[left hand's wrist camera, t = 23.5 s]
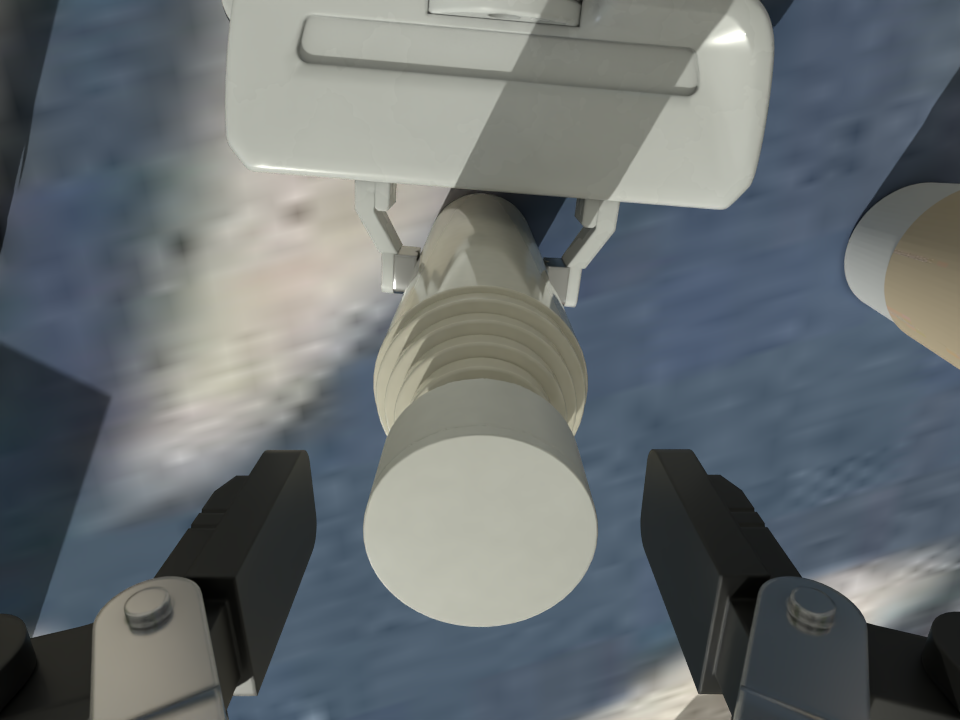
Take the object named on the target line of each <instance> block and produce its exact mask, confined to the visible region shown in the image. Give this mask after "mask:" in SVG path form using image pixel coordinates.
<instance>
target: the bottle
mask: <svg viewBox="0 0 960 720" xmlns="http://www.w3.org/2000/svg"><path fill="white" fill-rule="evenodd" d="M480 378H484V379H485V378H487V379H493V380H500V381H505V382H509V383H514V384H517V385H520V386H522V387H524V388H526V389H529V390H531V391H532V392H534V393H536V394H538V395H539V396H541V397H542V398H544V399H545V400H546V401H548V402H549V403H550V404H551V405H552V406H553V407H554V408H555V409H556V410H557V411H558V412H559V413H560V414H561V415H562V417H563V418H564V419H565V421H566V422H567V424H568V426H569V427H570V429H571V431H572V433H573V436H575V434H576V432H577V429H578V427H579V425H580V422H581V419H582V416H583V412H584V406H585V403H586V397H587V390H588V376H587V369H586V363H585V359H584V356H583V352H582V350H581V347H580V345H579V343H578V340H577V338H576V336H575V333H574V331H573V329H572V326H571V324H570V322H569V319H568V317H567V314H566V312H565V310H564V307H563V305H562V303H561V300H560V298H559V296H558V293H557V291H556V289H555V286H554V284H553V282H552V279H551V277H550V274H549V272H548V270H547V267H546V265H545V263H544V260H543V258H542V256H541V253H540V251H539V249H538V246H537V244H536V242H535V239H534V237H533V234H532V232H531V230H530V227H529V225H528V223H527V221H526V219H525V217H524V216H523V214H522V213H521V212H520V211H519V210H518V209H517V208H516V207H515V206H514V205H513V204H512V203H510V202H509V201H507V200H505V199H503V198H501V197H499V196H496V195H492V194H485V193H477V194H470V195H466V196H463V197H460V198H458V199H456V200H454V201H453V202H451V203H450V204H448V205H447V206H446V207H445V208H444V209H443V210H442V211H441V213H440V214H439V215H438V217H437V218H436V220H435V222H434V224H433V226H432V228H431V231H430V233H429V235H428V238H427V240H426V242H425V245H424V247H423V250H422V252H421V254H420V257H419V259H418V261H417V264H416V266H415V268H414V271H413V273H412V275H411V278H410V280H409V282H408V285H407V287H406V289H405V292H404V294H403V296H402V299H401V301H400V303H399V306H398V308H397V310H396V313H395V315H394V318H393V320H392V322H391V325H390V327H389V329H388V332H387V334H386V336H385V339H384V341H383V343H382V346H381V348H380V350H379V354H378V357H377V360H376V364H375V371H374V395H375V402H376V405H377V411H378V414H379V418H380V421H381V424H382V426H383V429H384V431H385V433H386V435H387V436H388V434H389V432H390V429H391V427H392V426H393V424H394V423H395V421H396V419H397V418H398V417H399V416H400V414H401V413H402V412H403V411H404V410H405V409H406V408H407V407H408V406H409V405H410V404H411V403H412V402H414V401H415V400H416V399H418V398H419V397H420V396H422V395H423V394H425V393H427V392H429V391H431V390H433V389H435V388H437V387H440V386H443V385H445V384H447V383H450V382H454V381H461V380H468V379H480Z"/></svg>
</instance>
